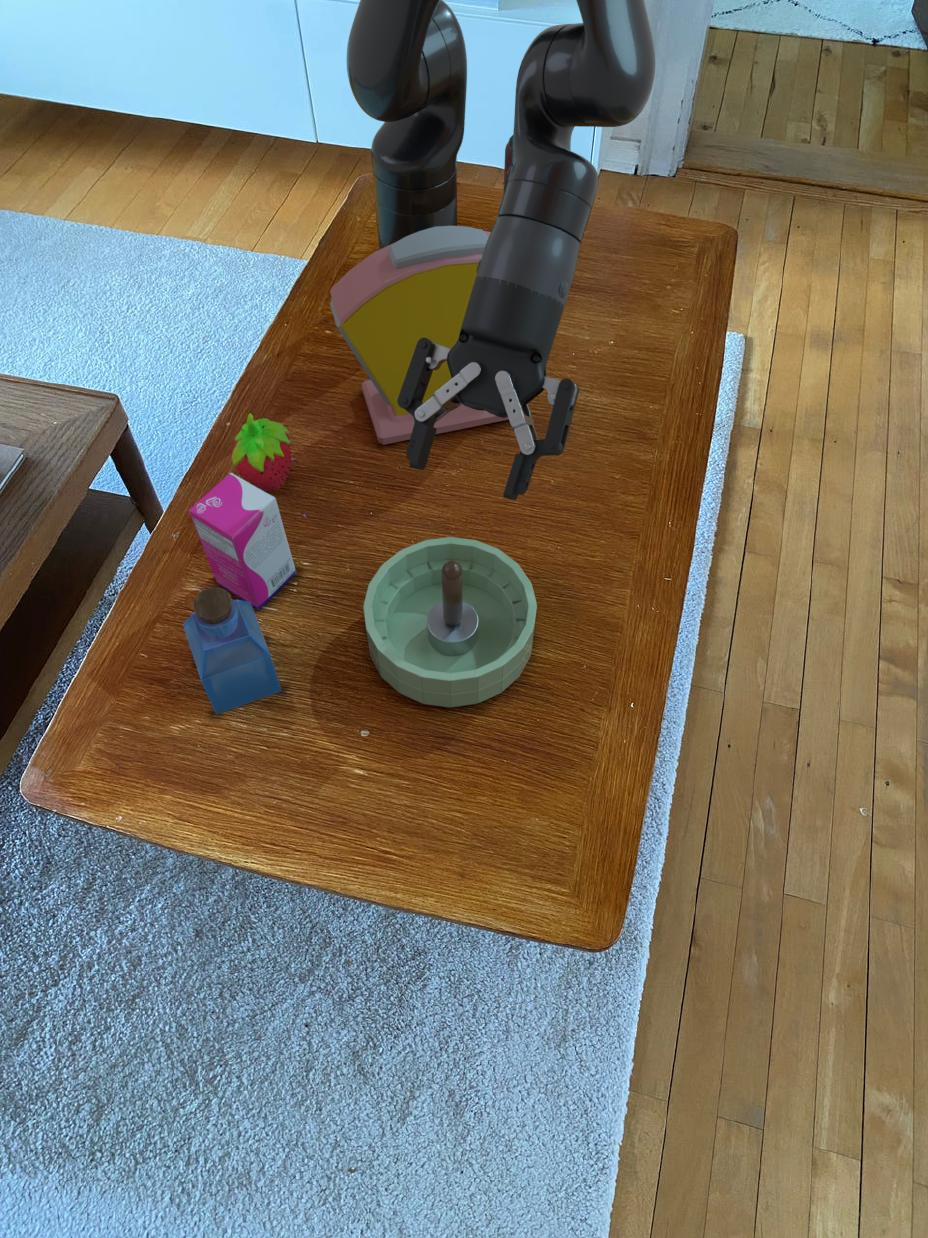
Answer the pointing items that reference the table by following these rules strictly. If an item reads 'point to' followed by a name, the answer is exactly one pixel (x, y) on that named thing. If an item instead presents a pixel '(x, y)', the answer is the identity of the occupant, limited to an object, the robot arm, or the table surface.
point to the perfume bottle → (229, 650)
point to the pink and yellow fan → (409, 319)
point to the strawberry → (262, 453)
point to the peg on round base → (452, 616)
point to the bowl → (417, 587)
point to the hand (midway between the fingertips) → (462, 483)
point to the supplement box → (244, 540)
